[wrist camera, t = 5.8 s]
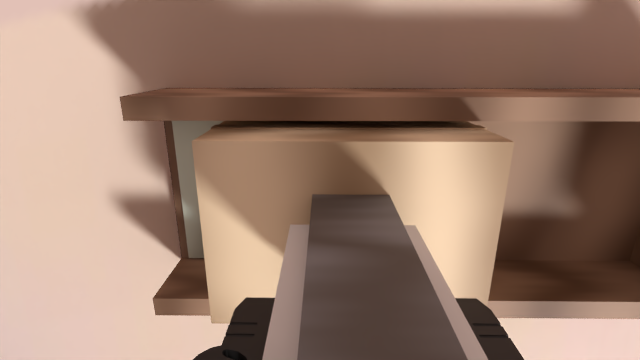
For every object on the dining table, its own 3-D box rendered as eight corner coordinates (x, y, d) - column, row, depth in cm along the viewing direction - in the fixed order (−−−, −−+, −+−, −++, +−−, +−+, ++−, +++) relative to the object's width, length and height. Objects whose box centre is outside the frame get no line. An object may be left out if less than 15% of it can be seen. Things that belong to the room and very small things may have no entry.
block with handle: (239, 255, 22) (86, 612, 8) (229, 116, 20) (-27, 270, 5) (443, 257, 22) (661, 622, 8) (459, 116, 19) (832, 276, 5)
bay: (188, 265, 24) (123, 363, 16) (165, 88, 20) (70, 106, 13) (631, 268, 23) (780, 369, 16) (685, 88, 20) (907, 107, 12)
